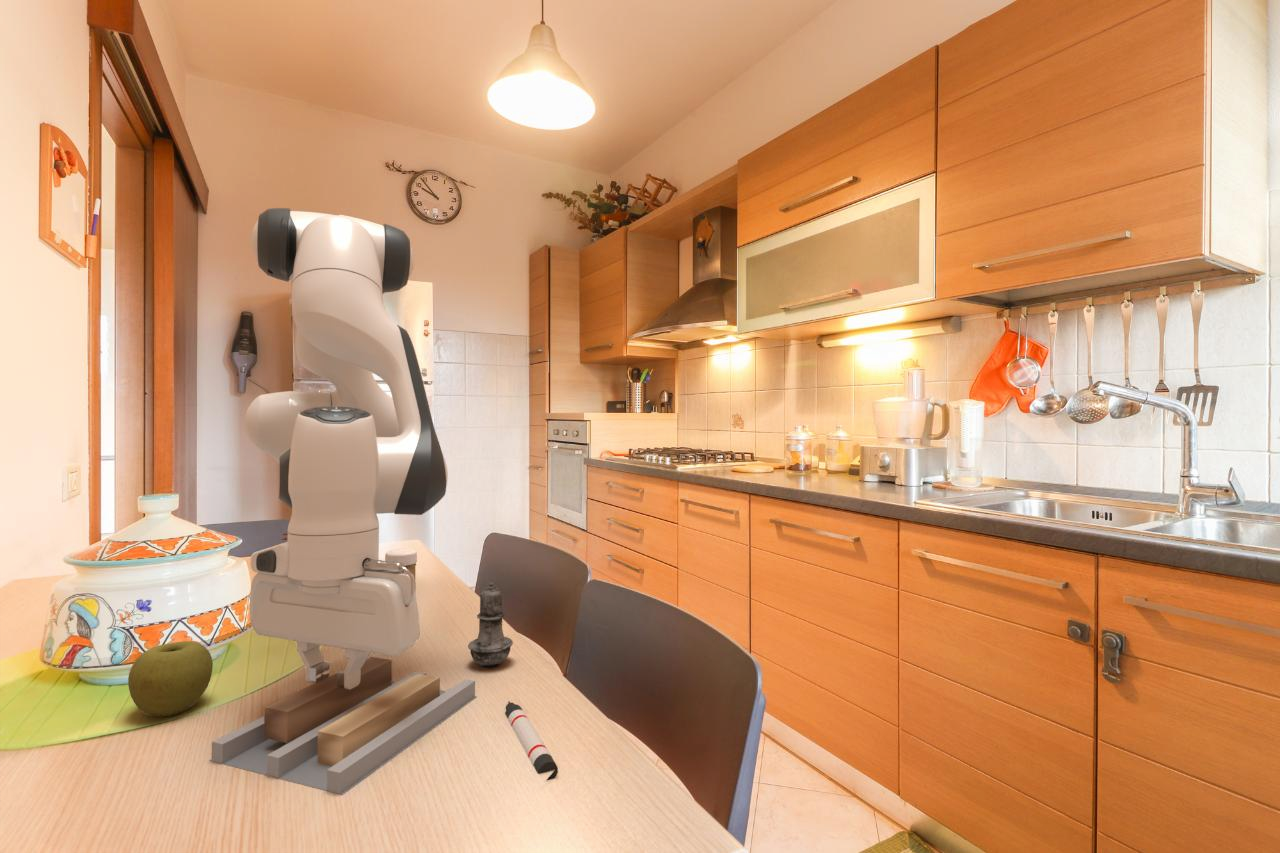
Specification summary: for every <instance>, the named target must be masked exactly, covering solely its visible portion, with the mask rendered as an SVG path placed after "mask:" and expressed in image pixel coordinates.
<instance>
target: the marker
mask: <svg viewBox="0 0 1280 853" xmlns="http://www.w3.org/2000/svg"><path fill="white" fill-rule="evenodd" d="M504 714H505V716H506V718H507V721H508V722H509V725H510V726H511V728H512V730H513V732H514V734H515V735H516V737H517V739H518V742H520V744H521V746H522V748H523V750H524V752H525V754H526V755H527V757H528V759H529V761H530V763H531V765H532V766H533V767H534V769H535V771H536V774H538V775H541V774H543V773H548V772H551V771H553V772H552V773H551V774H550V775H549V776H548V778H547V779H546V780H545V781H550V780H554V779H556V778H557V775H558V773H559V772H558V771H559V767H558V765H557V763H556V762H555V761H554V758H553V756H552V754H551V753H550V751H549V749H548V747H546V744H545V743H544V742H543V740H542V738H541V737H540V735H539V734H538V732H537V730H536V728H535V727H534V725H533V723H531V721H530V719H529V718H528V715H527V714H526V712H524V710H523V708H522V707H521V706H520V705H519V704H515V703H514V702H510V700H509V701H507V704H506V705H505V712H504Z"/></svg>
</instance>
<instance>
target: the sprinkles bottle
mask: <svg viewBox="0 0 1280 853" xmlns="http://www.w3.org/2000/svg"><path fill="white" fill-rule="evenodd" d="M384 557H385V558H384V561H386V562H391V561H396V562H400V563H403V565H404V567H406V568H407V569H408V570H409V571H410V572H411V574H413V576H414V580H415V593H416V590H417V589H416V588H417V587H416V584H417V583H416V566H417V562H418V552H417V550H416V549H410V548H409V549H408V548H399V549H392V550H388V551H386V552H385V556H384ZM402 572H403V573H405V572H404V571H402Z"/></svg>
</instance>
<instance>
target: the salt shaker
mask: <svg viewBox="0 0 1280 853" xmlns="http://www.w3.org/2000/svg"><path fill="white" fill-rule="evenodd" d="M488 585H489V586H487V587H486V588H484V589H482V591H481V592H480V596H479V613H478V614H477V615H476V618H477V619H478V621H479V622H478V623H479V624H478V625H479V626H478V627H479V628H478V634H477V638H475V639H472V640H471V641H470V642H468V645H467V647H468V649H469V651H470V652H469V654H470V655H471V657H472V660H473V661H474V662H475V663H476V664H478V665H480V666H481V667H482V668H486V669H488V668H489V669H490V668H491V669H492V668H496V667H498V666H499V665H500V664H501V663H503V662H504V661H505V660H506V659H507V658H508V657H509V655H510V652H511V647H512V645H513V644H514V641H513V639H511V638H509V637H507V636H505V635H504V631H503V618H504V617H505V612H503V607H502V606H503V592H502V591H501V589H499V588H498V587H496V586H494V582H493V581H492V580H490V581H489V583H488Z"/></svg>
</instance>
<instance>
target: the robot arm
mask: <svg viewBox="0 0 1280 853" xmlns="http://www.w3.org/2000/svg"><path fill="white" fill-rule="evenodd" d="M410 240H411V239H410V238H409V237H408V235H407V233H406V232H405V231H403V230H402V229H400V228H399V227H396V226H392V225H390V224H387V223H384V224H379V223H376V222H372V221H370V220H366V219H363V218H358V217H354V216H349V215H345V214H344V215H343V214H338V215H336V214H330V213H323V212H314V211H304V210H303V211H301V210H299V211H298V210H291V209H290V208H289V207H287V208H286V207H276V208H267V209H266V210H264V211H262V213H260V214H259V216H258V220H257V221H256V222H255V223H254V227H253V229H252V232H251V243H250V244H251V248H252V253H253V255H254V258H255V260H256V262H257V263H258V267H259V269H261V271H262V272H264V274H265V275H267V276H269V277H272V278H274V279H276V280H277V279H278V280H280V281H284V282H287V283H288V282H289V281H291V310H292V317H293V322H294V324H295V327H296V333H295V335H296V338H295V340H296V341H295V354H296V358H297V360H298V362H299V363H300V364H301V365H302V367H303V368H304V369H306V370H307V371H309V372H310V373H312V374H313V375H316V376H318V377H320V378H322V379H325V380H326V381H328V382H329V383H331V384H332V385H333V386H334V387H335V390H334V391H330V392H328V391H326V392H325V391H324V392H322V391H298V390H297V391H295V390H288V391H277V392H271V393H263V394H260V395H258V396H257V397H256V398H254V399H253V401H251V403H250V404H249V406H248V408H247V410H246V412H245V415H244V428H245V431H246V434H247V436H248V438H249V439H250V441H251V442H252V443H253V445H255V446H256V447H258V449H260V450H262V451H263V452H265V453H266V454H268V455H269V456H270V457H271V458H273V460H275V462H276V463H277V464H278V465H279V492H278V494H279V495H278V499H279V500H280V501H281V502H282V503H283V504H285V505H286V506H288V507H289V508H290V509H291V516H290V519H289V523H288V526H287V532H286V533H281V536H285V537H283V538H281V541H285V542H283V543H279V544H276V545H274V546H270V547H267V548H264V549H260V550H257V551H255V552H252V554H251V556H250V568H251V572H254V573H256V574H255V575H254V576H253V578H252V580H251V582H250V583H251V584H250V592H249V594H250V595H249V597H250V611H249V619H250V620H249V621H250V625H251V627H252V629H253V631H254V632H255V634H256V635H258V636H263V637H269V638H276V639H283V640H288V641H289V640H290V641H293V642H296V652H297V653H298V655H299V657H300V659H301V661H302V664H303V666H304V667H305V682H307V683H312V684H315V683H318V682H320V681H321V680H324V679H326V678H328V677H330V672H329V670H330V662H329V661H328V662H327V661H325V660H324V658H323V655H322V654H323V653H322V651H321V648H320V646H326V647H332V648H338V649H344V657H345V659H348V660H347V663H346V665H345V668H344V669H341V670H339V671H337V672H336V673H337V679H338V682H337V686H338V687H339V688H345V689H352V688H354V687H356V686H358V685H359V683H360V678H361V668H362V666H363V664H364V663H365V661H366V659H368V657H369V655H370V654H377V655H384V656H389V657H395V656H397V655H399V654H401V653H403V652H405V651H408V650H409V649H410V648H412V647H414V645H415V644H416V642H417V641H418V640H419V639H420V621H419V620H420V619H419V610H418V607H419V606H418V601H417V600H418V599H417V594H416V593H415V582H416V579H415V580H414V576H413V574H411V572H410V571H409V570H408V569H407V568H406V567H404V565H403V563H400V562H396V561H391V562H386V561H385V560H383V559H382V560H381V559H380V558H379V557H380V555H379V554H380V553H379V550H380V541H379V540H380V523H379V522H380V521H379V518H378V514H379V515H380V514H383V515H384V514H394V515H407V516H408V515H411V516H422V515H424V514H426V513H427V512H429V511H430V510H431V509H432V508H433V507H435V506H436V505H437V504H438V503H439V502H440V501H441V500H442V499H443V498H444V497H445V495H446V492H447V486H448V479H449V478H448V468H447V467H448V466H447V463H446V459H445V456H444V453H443V451H442V448H441V444H440V441H439V438H438V435H437V432H436V429H435V425H434V422H433V417H432V413H431V410H430V405H429V401H428V397H427V393H426V392H427V391H426V388H425V385H424V380H423V376H422V371H421V369H420V364H419V362H418V361H419V360H418V357H417V354H416V350H415V347H414V345H413V341H412V339H411V336H410V335H409V333H408V331H407V330H406V329H405V328H403V327H401V325H399V324H396V322H395V321H394V320H393V319H392V318H391V316H390V315H389V313H388V312H387V309H386V307H385V305H384V300H383V295H384V294H387V293H391V292H392V293H393V292H397V291H400V290H401V289H403V288H404V287H406V285H408V283H409V282H408V281H409V280H410V277H411V276H412V273H413V271H414V266H415V255H414V252H413V248H412V245H411V241H410ZM373 374H374V375H376V376H377V377H379V378H380V379H382V380H383V382H385V384H386V385H387V386H388V388H389V391H390V393H391V396H390V395H389V394H387V393H386V392H385V391H384V390H383V389H382V387H381V386H380V385H379V384H378V382H377V381H376V379H375V377H374V375H373ZM286 540H287V541H286ZM402 571H404V572H405V573H403V572H402Z"/></svg>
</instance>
